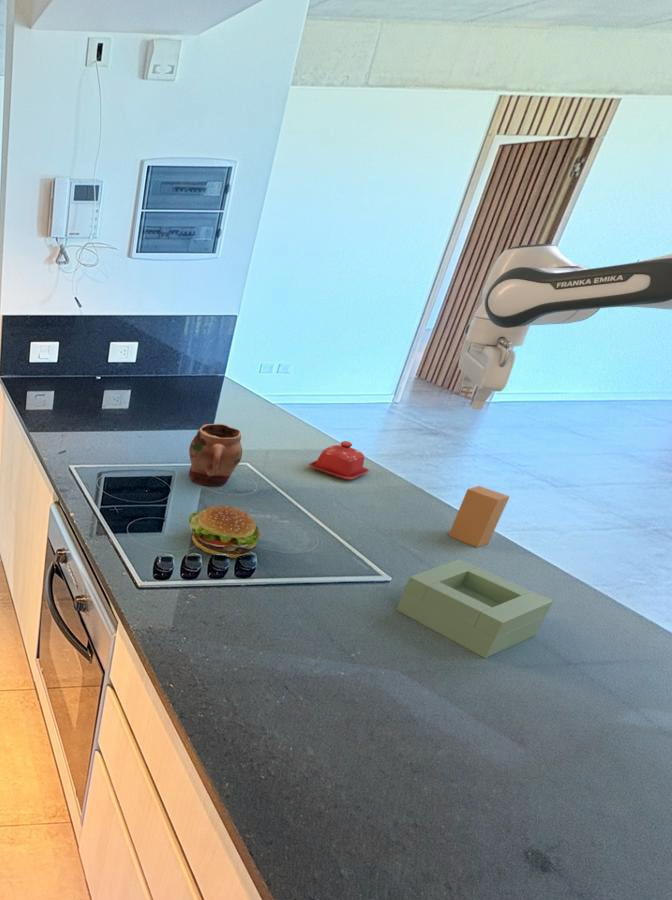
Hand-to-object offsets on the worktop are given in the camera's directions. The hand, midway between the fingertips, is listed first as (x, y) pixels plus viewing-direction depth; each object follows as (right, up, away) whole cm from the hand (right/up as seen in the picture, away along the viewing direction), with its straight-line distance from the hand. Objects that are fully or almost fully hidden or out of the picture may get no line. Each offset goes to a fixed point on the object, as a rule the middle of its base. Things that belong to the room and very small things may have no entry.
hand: (469, 401), depth 127 cm
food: (-51, -30, +2) cm, 59 cm away
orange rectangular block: (+3, -29, +4) cm, 29 cm away
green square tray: (-20, -41, -22) cm, 51 cm away
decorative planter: (-41, -15, +30) cm, 53 cm away
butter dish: (-5, -13, +36) cm, 38 cm away
